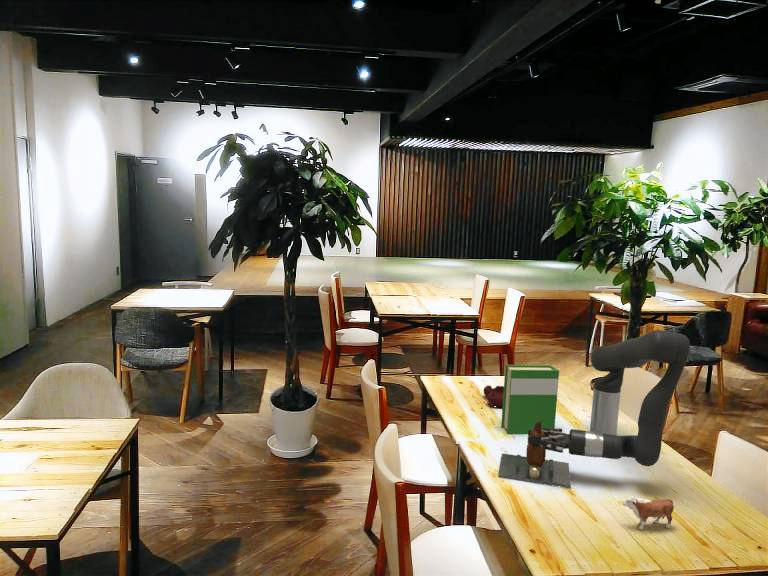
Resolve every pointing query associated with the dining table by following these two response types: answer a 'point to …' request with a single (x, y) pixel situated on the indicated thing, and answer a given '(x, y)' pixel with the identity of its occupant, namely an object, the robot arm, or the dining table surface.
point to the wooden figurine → (536, 448)
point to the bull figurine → (650, 509)
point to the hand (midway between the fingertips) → (528, 436)
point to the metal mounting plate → (534, 471)
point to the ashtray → (494, 395)
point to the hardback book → (529, 397)
